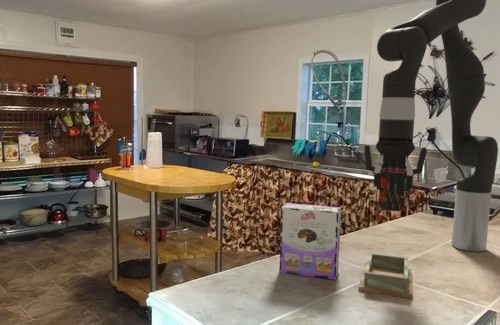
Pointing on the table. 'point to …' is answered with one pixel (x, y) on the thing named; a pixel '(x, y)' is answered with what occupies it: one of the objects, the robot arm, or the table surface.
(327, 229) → the candy box
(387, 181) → the deodorant
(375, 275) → the holder
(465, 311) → the table surface
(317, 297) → the table surface
